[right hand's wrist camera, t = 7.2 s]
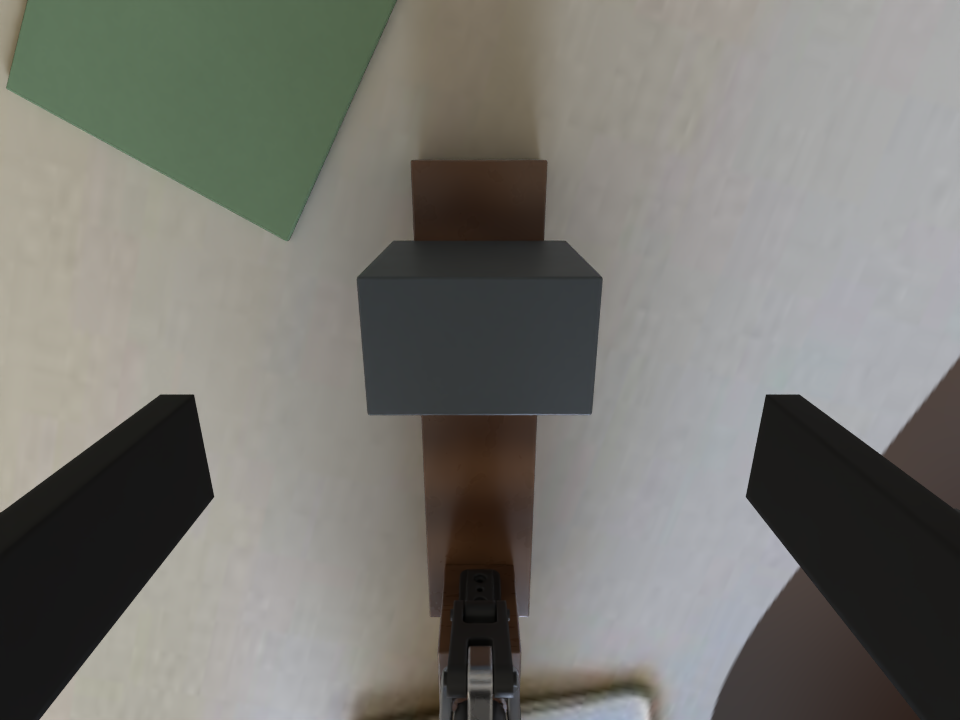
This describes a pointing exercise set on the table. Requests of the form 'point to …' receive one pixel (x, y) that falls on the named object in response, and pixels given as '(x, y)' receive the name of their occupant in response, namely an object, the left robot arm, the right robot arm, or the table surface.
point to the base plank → (479, 438)
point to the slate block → (479, 328)
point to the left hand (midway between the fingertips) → (479, 607)
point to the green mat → (206, 87)
